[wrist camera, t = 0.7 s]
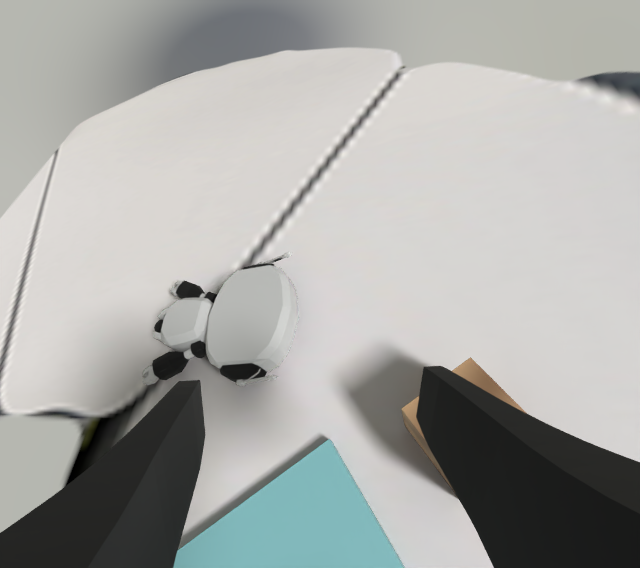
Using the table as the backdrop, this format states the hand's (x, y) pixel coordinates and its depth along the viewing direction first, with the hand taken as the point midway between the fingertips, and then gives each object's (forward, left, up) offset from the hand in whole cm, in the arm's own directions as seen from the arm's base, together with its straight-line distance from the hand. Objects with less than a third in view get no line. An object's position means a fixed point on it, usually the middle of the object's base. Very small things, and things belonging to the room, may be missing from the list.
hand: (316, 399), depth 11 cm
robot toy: (+17, +5, -17) cm, 25 cm away
